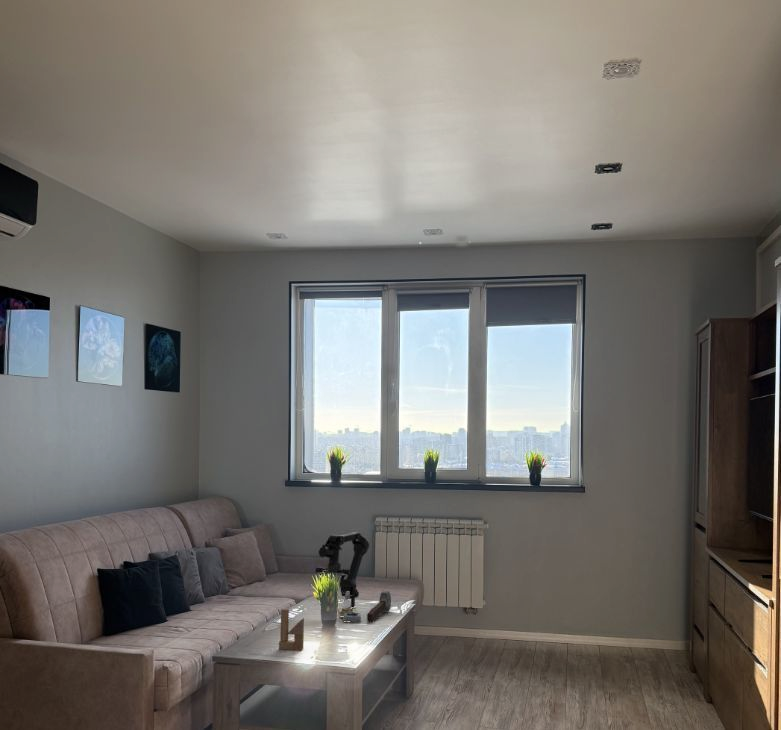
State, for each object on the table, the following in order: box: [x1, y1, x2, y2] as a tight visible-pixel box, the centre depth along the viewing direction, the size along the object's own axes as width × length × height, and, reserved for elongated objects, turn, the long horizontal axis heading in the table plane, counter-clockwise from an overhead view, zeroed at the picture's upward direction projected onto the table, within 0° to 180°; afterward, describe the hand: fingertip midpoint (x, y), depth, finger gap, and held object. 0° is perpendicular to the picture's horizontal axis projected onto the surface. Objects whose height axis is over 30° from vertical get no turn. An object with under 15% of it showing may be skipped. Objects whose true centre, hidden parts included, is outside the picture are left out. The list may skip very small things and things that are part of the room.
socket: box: [343, 612, 362, 623], centre depth 422 cm, size 9×9×3 cm
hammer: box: [366, 590, 392, 623], centre depth 432 cm, size 5×11×30 cm
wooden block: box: [278, 607, 305, 652], centre depth 366 cm, size 4×11×18 cm, turn 80°
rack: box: [339, 608, 356, 617], centre depth 432 cm, size 8×8×3 cm
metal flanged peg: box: [343, 591, 351, 612], centre depth 432 cm, size 4×4×13 cm
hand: (331, 587), depth 438 cm, fingers open, 9 cm apart
